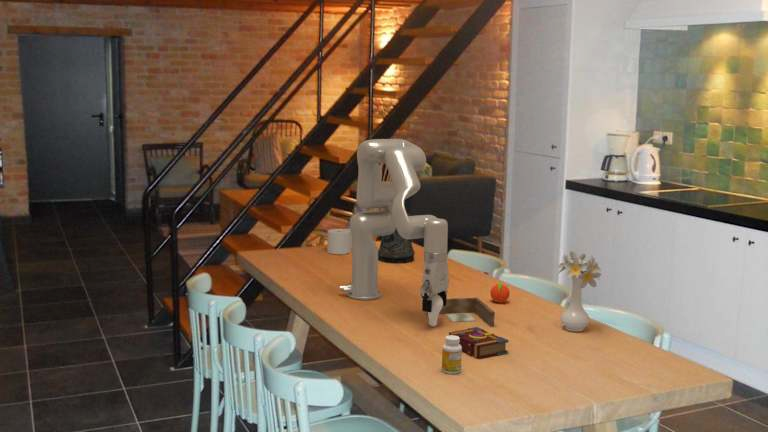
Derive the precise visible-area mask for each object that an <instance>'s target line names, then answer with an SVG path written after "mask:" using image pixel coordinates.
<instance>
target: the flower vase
mask: <svg viewBox="0 0 768 432" xmlns="http://www.w3.org/2000/svg"><path fill="white" fill-rule="evenodd" d="M569 255H570V258H569V257H568V255H566V254H564V255H563V256H562V257H563V258H562V262H561V263H559V264H558V266H557V269H559V270H558V271H557V273H556V275H559V274H560V273H561V272H563V271H565V270H566V269H567V270H569V271H567V272H566V274H565V277H566V279H570V278H571V284H572V287H571V288H572V289H571V297H570V302H569V305H568V307H567V308H566V309H565V310H563V312H562V313H561V315H560V322H561V324H562V325H563V326H564V329H565V330H566V331H569V332H574V333H576V332H583V331H585V328H586V327H587V326H588V325H589V324H590V320H591V319H590V316H589V315H588V313H587V312H586V310H585V309H584V307H583V303H582V290H583V289H585V288H586V287H587V285H588V284H589V286H590V287H593V288H596V287H597V281H596V280H595V279H597V280H598V281H600V280H601V278H600V277H601V275H602V273H601V270H602V269H601V267H599V263H598V262H597V261H596V260H595V257H594V256H593V255H592V254H591V255H590V259H588V260H587V261H584V260H585V258H586V256H587V255H586V254H585V253H581V254H579V255H578V256H577V254H576V253H575V252H574V251H573V250H570V251H569Z"/></svg>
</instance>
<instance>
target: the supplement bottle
mask: <svg viewBox="0 0 768 432" xmlns="http://www.w3.org/2000/svg"><path fill="white" fill-rule="evenodd" d="M444 342H445V343H444V344H443V345H442V352H441V353H442V355H441V356H442V358H441V371H442V372H443V373H445V374H450V375H452V374H453V375H454V374H459V373H461V371H462V360H463V359H462V357H463V354H462V353H463V351H462V347H461V345H460V344H459V342H460V337H458V336H454V335H449V334H448V335H446V336H445V341H444Z"/></svg>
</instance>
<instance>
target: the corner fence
mask: <svg viewBox="0 0 768 432" xmlns="http://www.w3.org/2000/svg"><path fill="white" fill-rule="evenodd" d="M471 313H474V314H475V315H477V316H478V318H480V319H481V320H482V321H483V322H485V324H486V325H488V326H489V327H490V328H494V327H495V313H496V312H495V311H494V310H493V309H491V307H489V306H488V305H487V304H486V303H484V302H483V301H482V300H481V299H480V298H478V297H461V298H460V297H459V298H457V297H455V298H447V299H446V306H443V307H442V309H441V310H440V312H439V315H444V314H445V316H446V317H447V318H448V319H449V320H450V321H452V323H459V322H460V323H463V322H476V319H475V318H474V317H473V316H472V315H470V314H471ZM426 315H428V312H426Z"/></svg>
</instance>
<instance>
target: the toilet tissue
mask: <svg viewBox="0 0 768 432" xmlns="http://www.w3.org/2000/svg"><path fill="white" fill-rule="evenodd" d="M326 233H327V234H326V235H327V239H326V241H327V245H326V246H327V247H326V248H327V250H326V251H327V252H326V253H328V254H333V255H346V254H347V253H348V254H351V250H352V235H351V229H350V228H332V229H327V231H326Z"/></svg>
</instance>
